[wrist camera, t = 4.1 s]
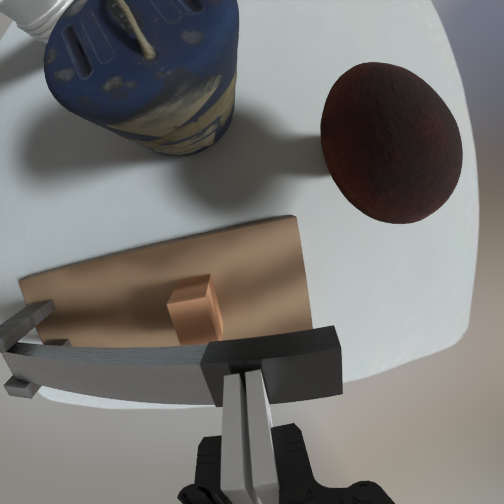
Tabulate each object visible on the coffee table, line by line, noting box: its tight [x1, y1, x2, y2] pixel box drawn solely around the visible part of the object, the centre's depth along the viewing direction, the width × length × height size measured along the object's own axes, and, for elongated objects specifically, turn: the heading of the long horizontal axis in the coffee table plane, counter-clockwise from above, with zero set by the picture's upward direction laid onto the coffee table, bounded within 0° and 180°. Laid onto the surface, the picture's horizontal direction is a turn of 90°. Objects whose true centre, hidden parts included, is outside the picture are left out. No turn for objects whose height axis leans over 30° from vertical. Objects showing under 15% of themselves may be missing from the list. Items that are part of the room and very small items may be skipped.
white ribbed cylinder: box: [0, 0, 74, 44], centre depth 13 cm, size 7×7×15 cm
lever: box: [2, 325, 343, 407], centre depth 16 cm, size 4×29×2 cm, turn 101°
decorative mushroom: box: [320, 62, 463, 224], centre depth 18 cm, size 11×11×15 cm
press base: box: [0, 215, 313, 399], centre depth 22 cm, size 12×32×12 cm, turn 101°
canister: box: [44, 0, 239, 156], centre depth 15 cm, size 10×10×18 cm
